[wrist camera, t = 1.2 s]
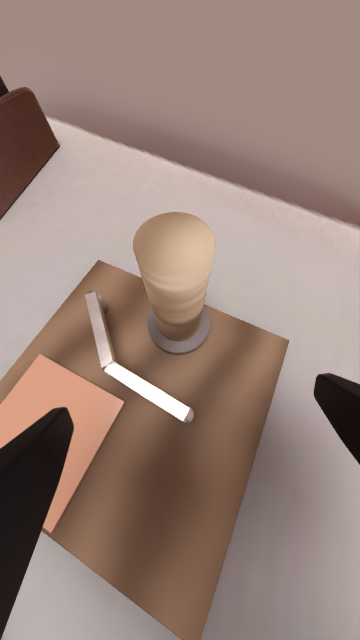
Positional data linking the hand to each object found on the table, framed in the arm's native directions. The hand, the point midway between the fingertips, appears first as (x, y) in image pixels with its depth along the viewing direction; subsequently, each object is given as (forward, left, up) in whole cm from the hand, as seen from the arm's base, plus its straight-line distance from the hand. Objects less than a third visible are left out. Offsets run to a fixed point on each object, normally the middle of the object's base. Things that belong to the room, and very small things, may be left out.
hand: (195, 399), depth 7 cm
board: (+5, +1, -13) cm, 14 cm away
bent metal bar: (+6, -2, -12) cm, 14 cm away
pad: (+10, +7, -12) cm, 18 cm away
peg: (+4, -7, -12) cm, 15 cm away
